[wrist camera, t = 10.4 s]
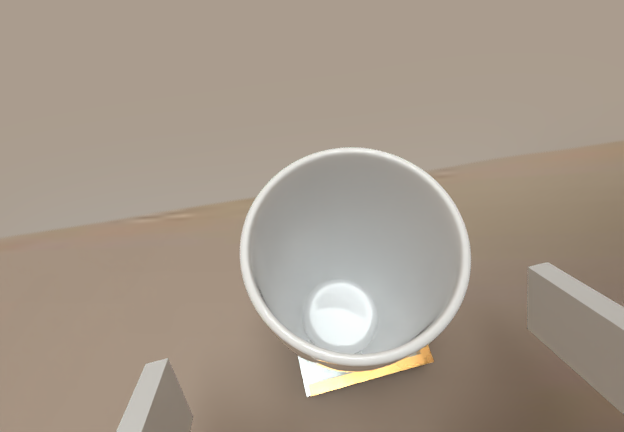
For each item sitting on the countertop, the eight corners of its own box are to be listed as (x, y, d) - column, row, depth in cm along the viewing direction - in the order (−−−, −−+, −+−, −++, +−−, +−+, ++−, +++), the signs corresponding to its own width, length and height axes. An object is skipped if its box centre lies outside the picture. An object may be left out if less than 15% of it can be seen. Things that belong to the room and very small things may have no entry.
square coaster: (384, 253, 27) (389, 241, 25) (423, 363, 24) (433, 361, 21) (282, 279, 27) (278, 270, 24) (308, 395, 23) (305, 397, 21)
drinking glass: (345, 400, 22) (373, 437, 8) (268, 323, 24) (186, 250, 10) (411, 316, 24) (523, 230, 10) (334, 251, 26) (340, 108, 12)
